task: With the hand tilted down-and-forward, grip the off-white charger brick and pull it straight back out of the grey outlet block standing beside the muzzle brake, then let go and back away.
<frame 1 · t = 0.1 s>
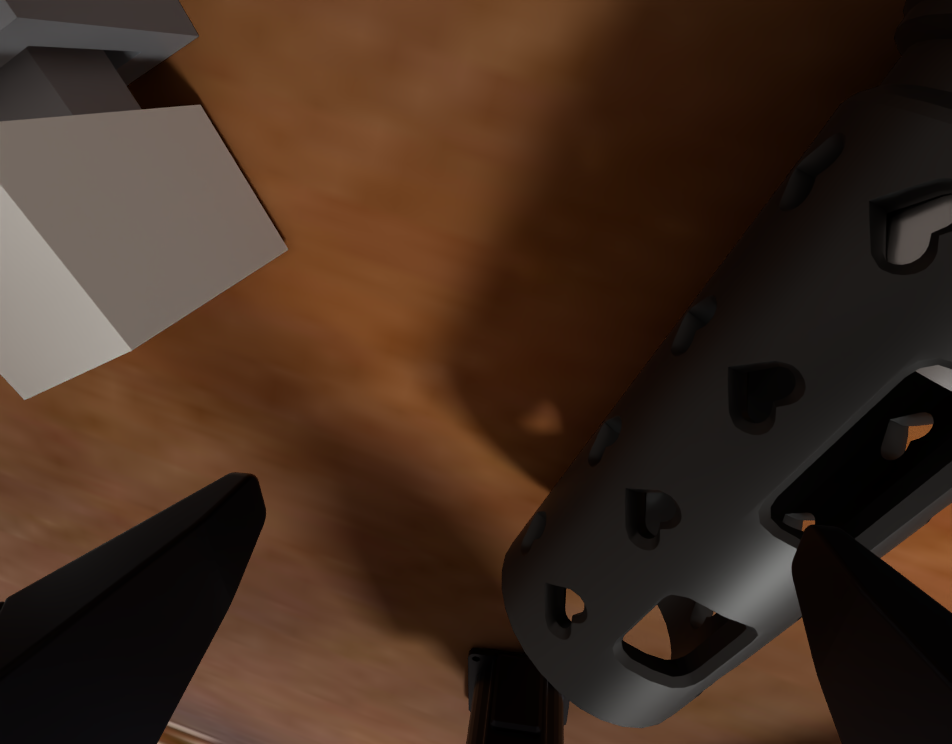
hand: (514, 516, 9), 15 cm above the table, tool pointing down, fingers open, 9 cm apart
outlet block: (94, 26, 20), on the table
muzzle brake: (772, 294, 21), on the table
charger: (75, 168, 17), point 5 cm above the table, slide at 0.0 cm
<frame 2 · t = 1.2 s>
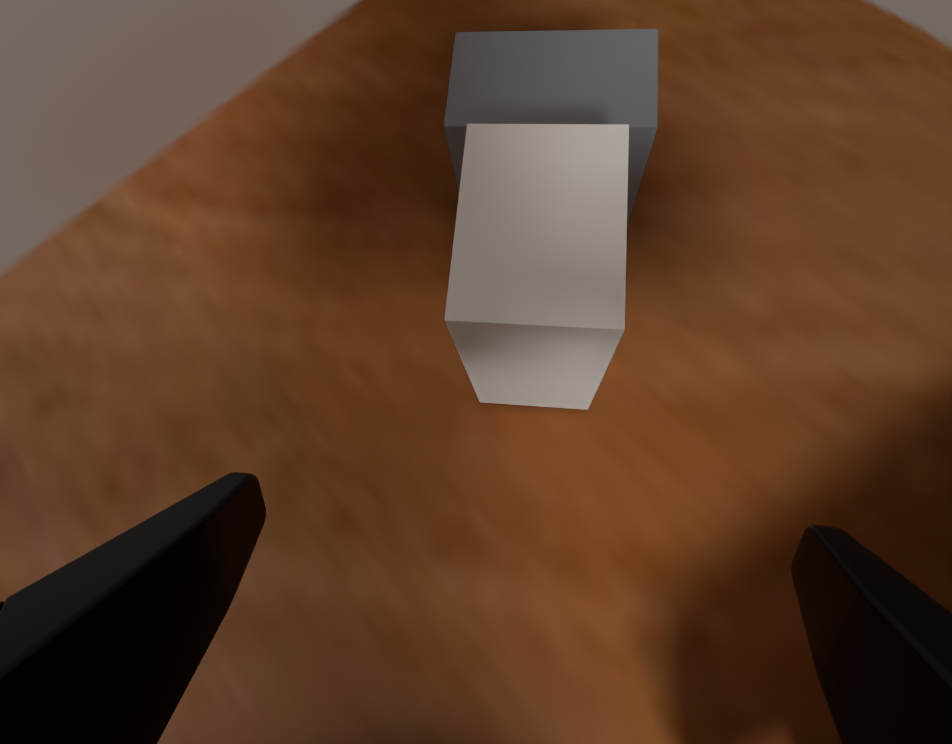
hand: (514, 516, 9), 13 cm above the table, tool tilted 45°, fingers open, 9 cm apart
outlet block: (546, 203, 26), on the table
charger: (542, 235, 19), point 5 cm above the table, slide at 0.0 cm
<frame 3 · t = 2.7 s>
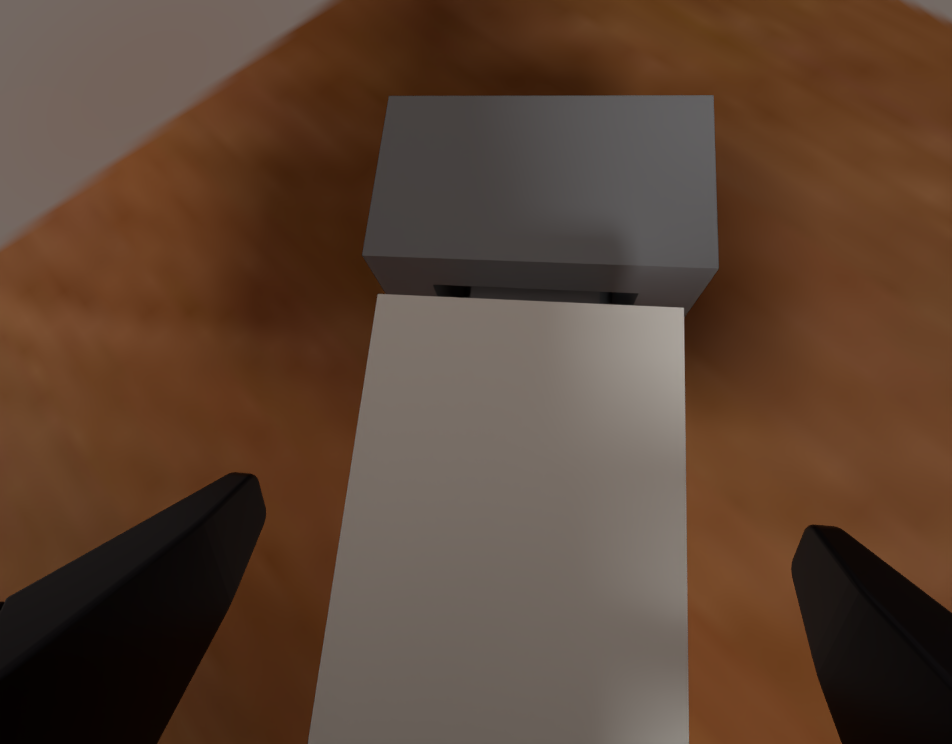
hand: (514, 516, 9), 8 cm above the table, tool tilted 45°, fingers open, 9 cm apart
outlet block: (537, 313, 18), on the table
charger: (526, 415, 12), point 5 cm above the table, slide at 0.0 cm
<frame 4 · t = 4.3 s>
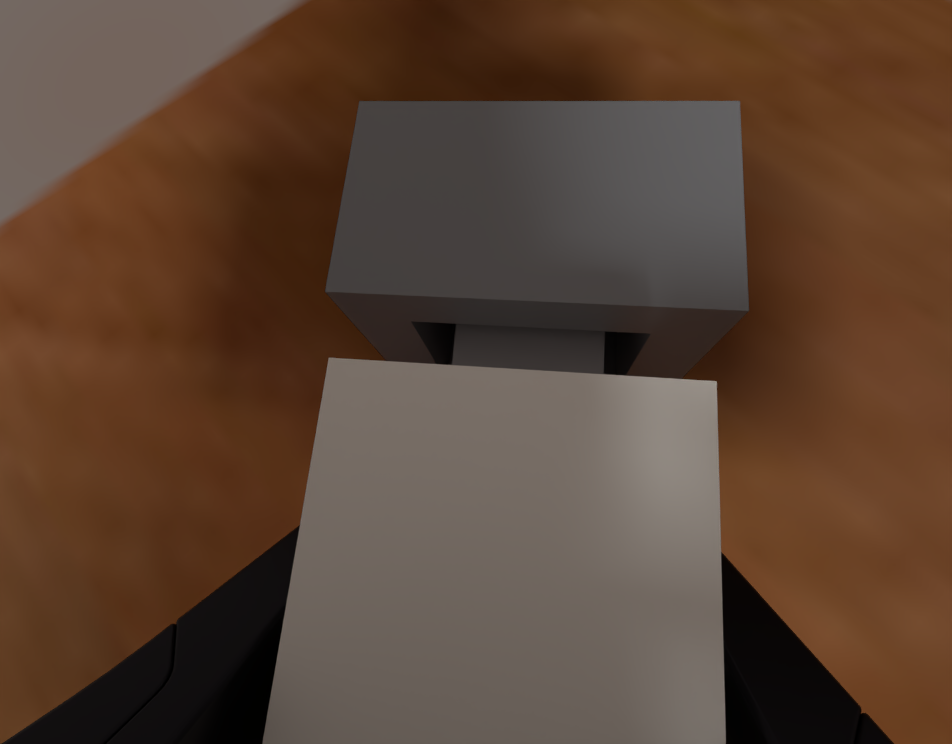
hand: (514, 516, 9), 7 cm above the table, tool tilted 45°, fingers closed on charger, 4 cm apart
outlet block: (534, 337, 17), on the table
charger: (519, 472, 11), point 5 cm above the table, slide at 0.0 cm, touching gripper
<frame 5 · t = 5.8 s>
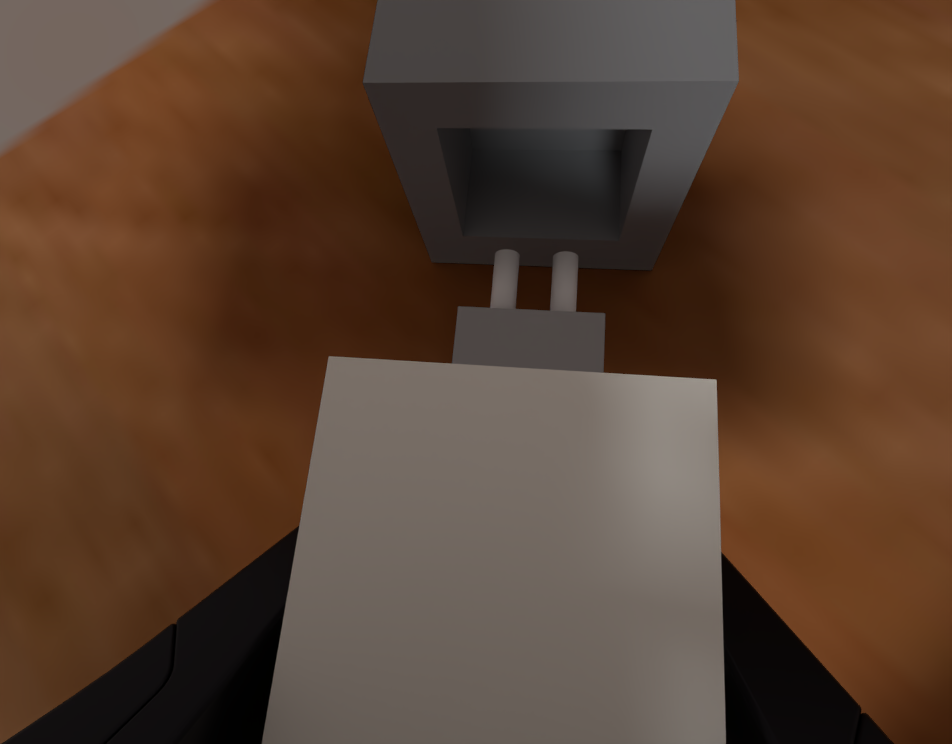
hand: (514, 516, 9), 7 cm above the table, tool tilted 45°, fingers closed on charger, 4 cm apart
outlet block: (542, 211, 18), on the table
charger: (519, 472, 11), point 5 cm above the table, slide at 4.4 cm, touching gripper
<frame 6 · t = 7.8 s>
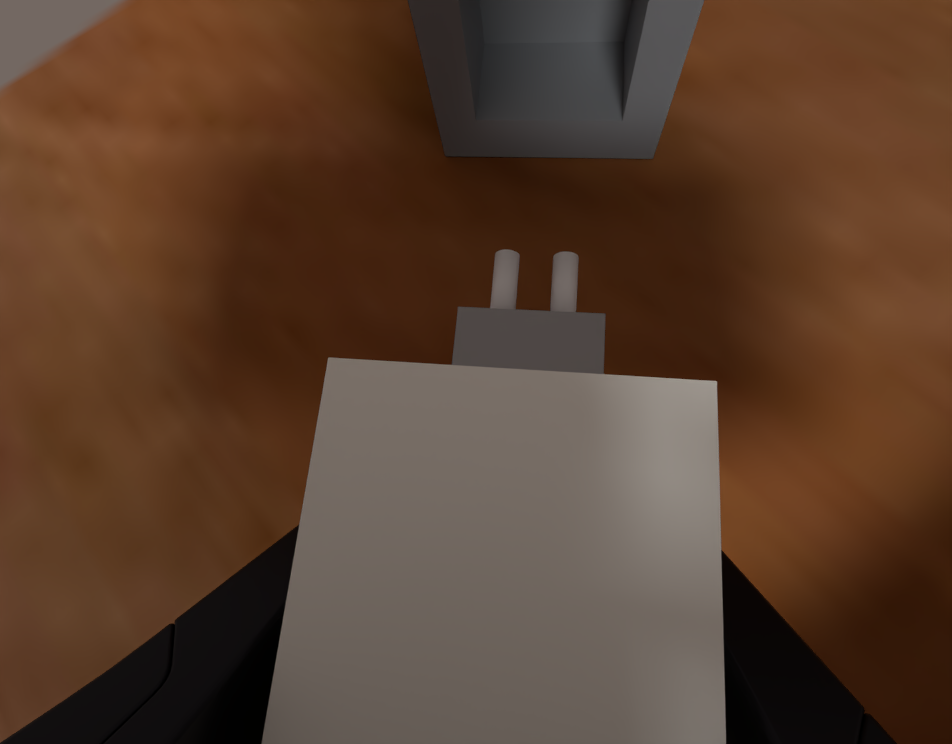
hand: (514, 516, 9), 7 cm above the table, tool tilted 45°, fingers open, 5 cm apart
outlet block: (549, 108, 19), on the table
charger: (519, 472, 11), point 5 cm above the table, slide at 8.5 cm
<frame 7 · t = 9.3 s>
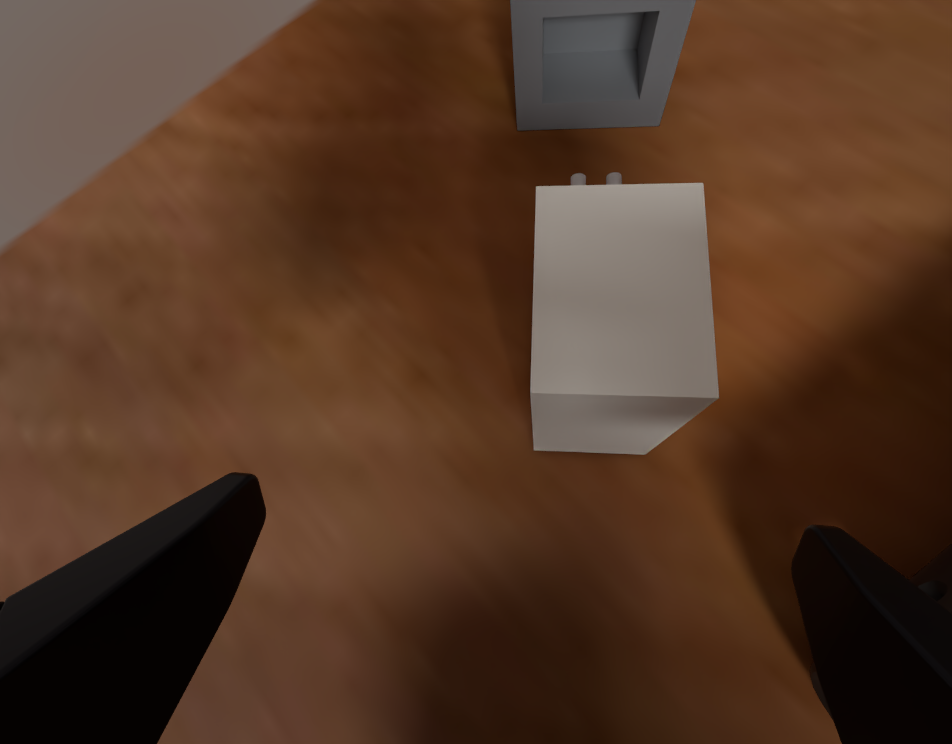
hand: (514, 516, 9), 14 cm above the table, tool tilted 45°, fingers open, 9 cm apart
outlet block: (586, 95, 28), on the table
charger: (599, 285, 19), point 5 cm above the table, slide at 8.5 cm
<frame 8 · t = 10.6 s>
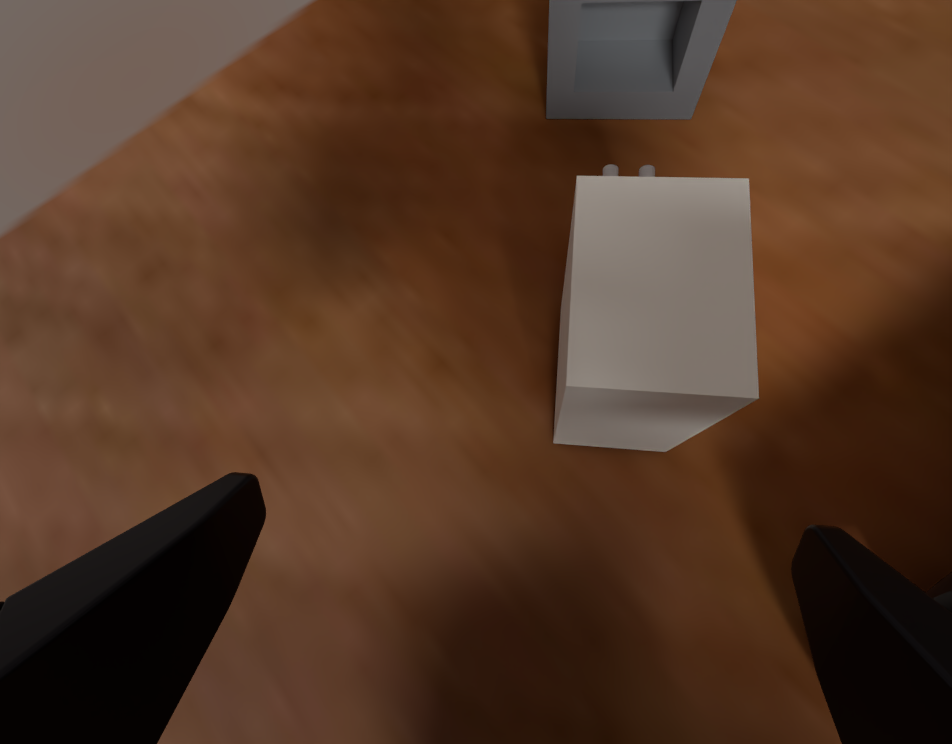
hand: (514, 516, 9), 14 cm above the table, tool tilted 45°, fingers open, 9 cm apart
outlet block: (618, 85, 27), on the table
charger: (630, 279, 19), point 5 cm above the table, slide at 8.5 cm
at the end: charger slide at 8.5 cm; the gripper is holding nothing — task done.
